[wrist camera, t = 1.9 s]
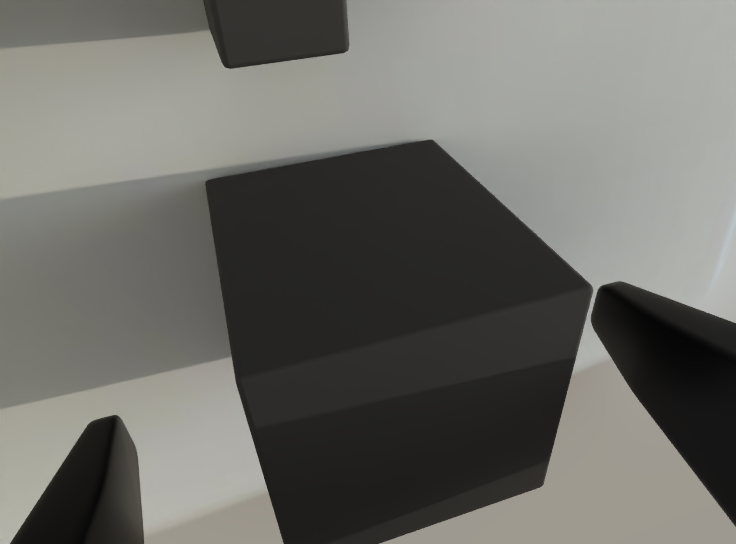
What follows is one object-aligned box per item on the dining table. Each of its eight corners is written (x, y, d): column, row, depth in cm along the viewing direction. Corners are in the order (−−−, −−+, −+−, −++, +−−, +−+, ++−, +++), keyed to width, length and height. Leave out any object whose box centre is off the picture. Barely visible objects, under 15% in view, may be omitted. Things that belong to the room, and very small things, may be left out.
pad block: (428, 308, 14) (544, 487, 10) (249, 354, 13) (293, 575, 9) (433, 137, 11) (596, 286, 7) (204, 178, 10) (234, 382, 6)
